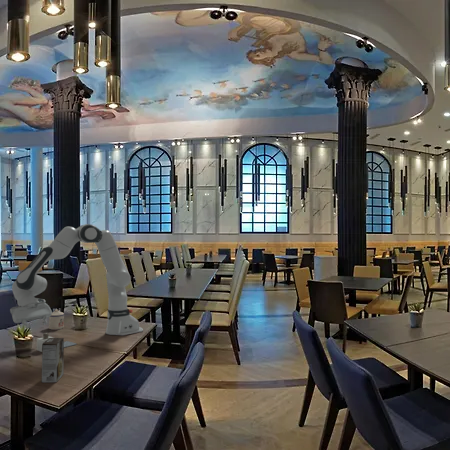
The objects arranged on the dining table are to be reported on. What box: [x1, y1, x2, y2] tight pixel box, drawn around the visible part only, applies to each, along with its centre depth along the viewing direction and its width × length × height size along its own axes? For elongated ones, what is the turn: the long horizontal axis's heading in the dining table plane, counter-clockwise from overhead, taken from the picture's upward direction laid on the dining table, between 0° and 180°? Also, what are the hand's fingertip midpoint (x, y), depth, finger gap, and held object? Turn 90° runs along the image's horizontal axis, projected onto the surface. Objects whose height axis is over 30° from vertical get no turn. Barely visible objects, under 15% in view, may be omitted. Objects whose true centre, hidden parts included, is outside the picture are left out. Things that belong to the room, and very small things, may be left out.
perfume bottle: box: [36, 332, 54, 353], centre depth 213 cm, size 6×6×8 cm
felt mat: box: [64, 340, 78, 348], centre depth 223 cm, size 9×9×1 cm
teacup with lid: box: [48, 309, 65, 331], centre depth 261 cm, size 12×9×12 cm
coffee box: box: [41, 337, 65, 383], centre depth 173 cm, size 9×6×16 cm
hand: (37, 325), depth 219 cm, fingers open, 8 cm apart
